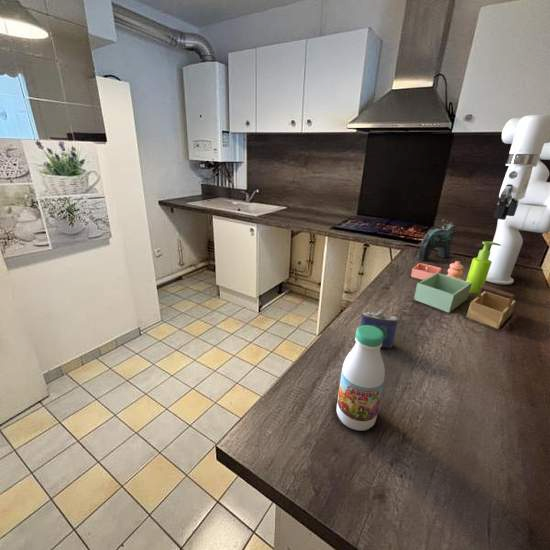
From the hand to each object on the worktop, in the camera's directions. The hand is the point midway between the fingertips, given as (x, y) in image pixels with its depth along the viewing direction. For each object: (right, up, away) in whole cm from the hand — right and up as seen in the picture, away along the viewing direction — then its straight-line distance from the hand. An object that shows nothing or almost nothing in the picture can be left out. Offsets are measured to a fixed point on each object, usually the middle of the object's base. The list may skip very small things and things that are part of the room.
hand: (503, 217), depth 95 cm
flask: (-47, -38, -15) cm, 63 cm away
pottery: (-7, -21, +27) cm, 35 cm away
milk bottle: (-59, -47, -37) cm, 84 cm away
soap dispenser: (+2, -26, +18) cm, 31 cm away
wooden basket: (-5, -33, 0) cm, 33 cm away
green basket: (-15, -28, +10) cm, 34 cm away
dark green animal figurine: (+6, -11, +53) cm, 55 cm away
